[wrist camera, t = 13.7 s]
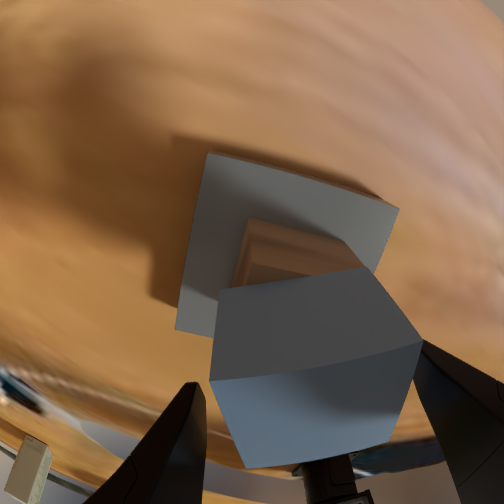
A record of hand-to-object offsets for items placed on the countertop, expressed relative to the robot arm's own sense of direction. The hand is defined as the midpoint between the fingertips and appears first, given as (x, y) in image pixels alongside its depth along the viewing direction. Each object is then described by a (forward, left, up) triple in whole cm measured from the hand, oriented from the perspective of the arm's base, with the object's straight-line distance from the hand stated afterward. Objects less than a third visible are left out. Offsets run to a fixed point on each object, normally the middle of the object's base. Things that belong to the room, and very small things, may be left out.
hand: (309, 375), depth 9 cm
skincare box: (-41, +26, -9) cm, 49 cm away
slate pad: (0, 0, -9) cm, 9 cm away
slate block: (0, 0, -2) cm, 2 cm away
